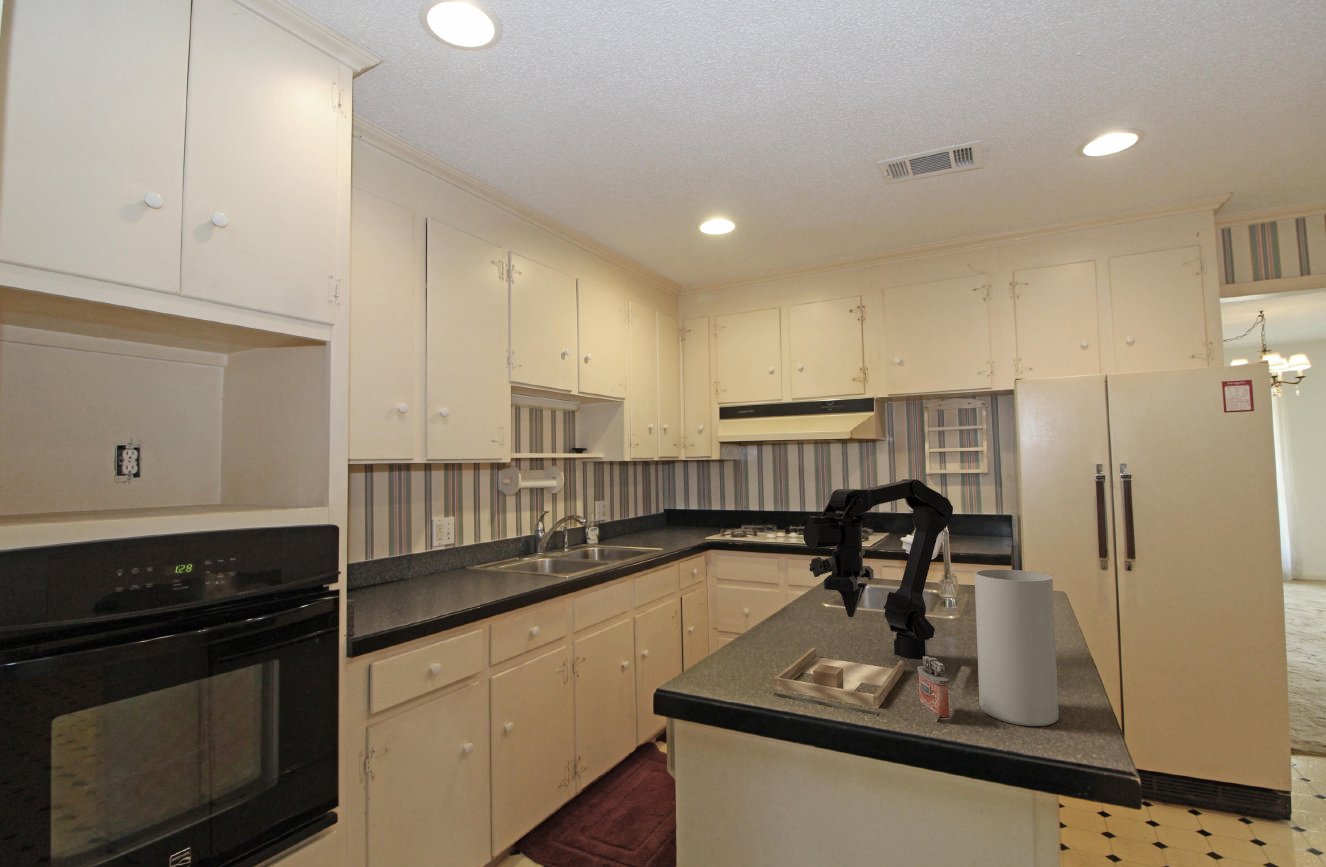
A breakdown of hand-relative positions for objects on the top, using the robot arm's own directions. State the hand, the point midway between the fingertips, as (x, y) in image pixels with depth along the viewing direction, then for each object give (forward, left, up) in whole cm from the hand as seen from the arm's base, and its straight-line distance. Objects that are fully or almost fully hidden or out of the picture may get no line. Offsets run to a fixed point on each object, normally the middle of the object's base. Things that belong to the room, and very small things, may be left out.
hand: (850, 616), depth 137 cm
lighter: (-19, +16, -12) cm, 28 cm away
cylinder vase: (-32, +8, -12) cm, 35 cm away
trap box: (-1, +10, -12) cm, 16 cm away
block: (-1, +19, -10) cm, 22 cm away
